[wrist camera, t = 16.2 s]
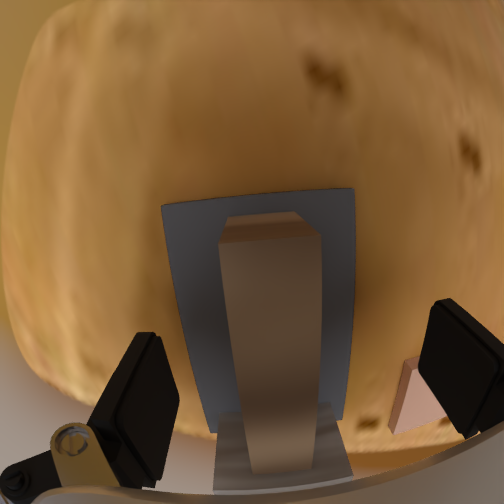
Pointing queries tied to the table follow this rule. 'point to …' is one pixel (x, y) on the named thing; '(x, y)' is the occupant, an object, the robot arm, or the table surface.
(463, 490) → the robot arm
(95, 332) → the table surface
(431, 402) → the tile
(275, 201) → the mat
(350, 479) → the scraper
